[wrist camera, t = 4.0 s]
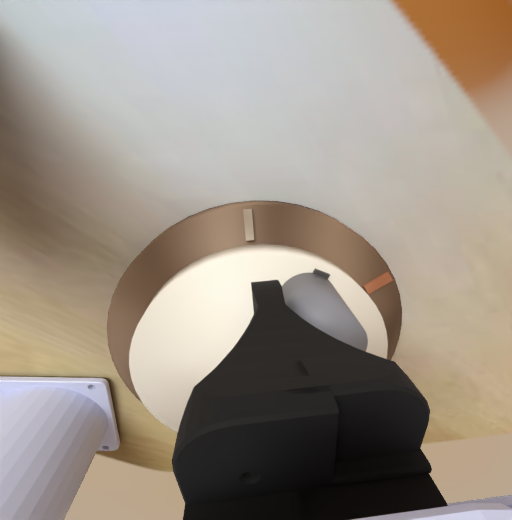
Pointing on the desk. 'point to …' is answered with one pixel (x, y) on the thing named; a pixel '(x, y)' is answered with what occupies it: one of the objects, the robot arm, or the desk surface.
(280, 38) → the desk surface
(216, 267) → the dial
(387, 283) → the dial base
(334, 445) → the robot arm
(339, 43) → the desk surface
